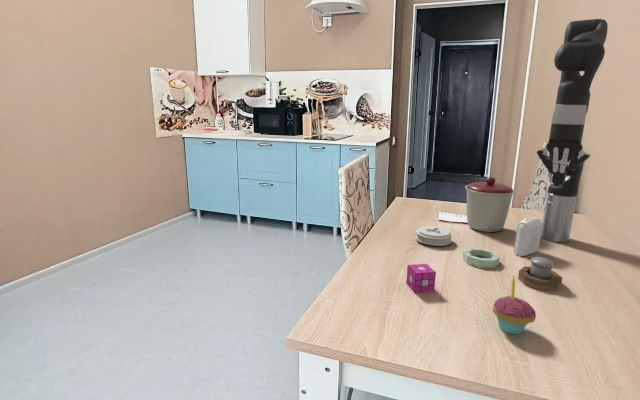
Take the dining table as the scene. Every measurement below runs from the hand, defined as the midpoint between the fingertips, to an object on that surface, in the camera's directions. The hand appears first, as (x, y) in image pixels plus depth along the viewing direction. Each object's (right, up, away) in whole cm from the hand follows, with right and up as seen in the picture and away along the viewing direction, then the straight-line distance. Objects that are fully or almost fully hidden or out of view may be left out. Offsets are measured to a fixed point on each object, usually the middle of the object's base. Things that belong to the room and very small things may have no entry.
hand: (557, 185), depth 108 cm
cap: (-4, -27, +2) cm, 27 cm away
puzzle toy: (-39, -28, -2) cm, 48 cm away
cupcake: (-23, -33, -21) cm, 45 cm away
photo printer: (+4, -22, +24) cm, 33 cm away
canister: (0, -16, +49) cm, 51 cm away
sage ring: (-15, -24, +16) cm, 32 cm away
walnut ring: (-4, -27, +2) cm, 28 cm away
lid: (-25, -19, +34) cm, 46 cm away
